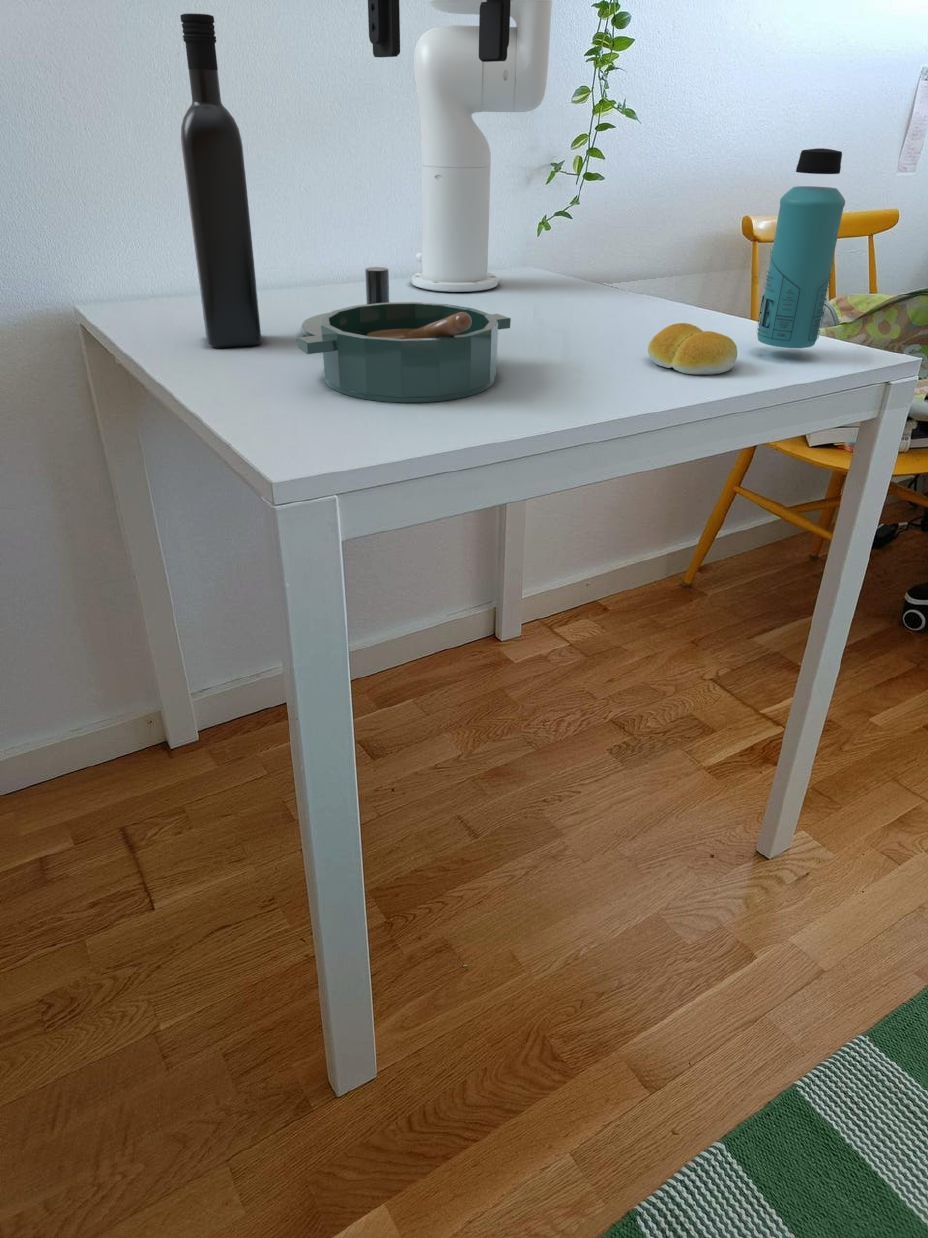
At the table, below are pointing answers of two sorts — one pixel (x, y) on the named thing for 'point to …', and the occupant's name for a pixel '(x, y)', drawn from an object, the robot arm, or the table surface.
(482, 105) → the robot arm
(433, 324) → the brown handled cylinder
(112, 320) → the table surface
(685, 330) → the bread roll
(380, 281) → the pot lid
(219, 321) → the wine bottle
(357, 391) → the pot
